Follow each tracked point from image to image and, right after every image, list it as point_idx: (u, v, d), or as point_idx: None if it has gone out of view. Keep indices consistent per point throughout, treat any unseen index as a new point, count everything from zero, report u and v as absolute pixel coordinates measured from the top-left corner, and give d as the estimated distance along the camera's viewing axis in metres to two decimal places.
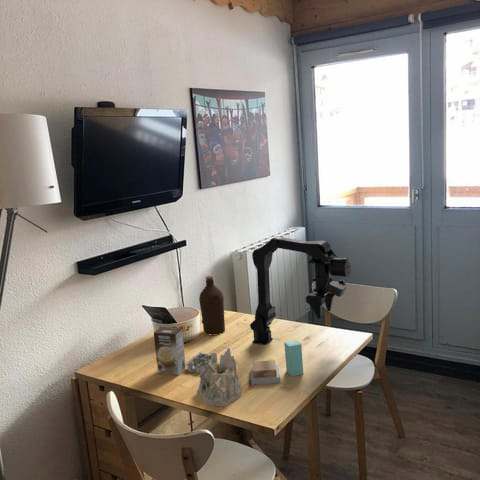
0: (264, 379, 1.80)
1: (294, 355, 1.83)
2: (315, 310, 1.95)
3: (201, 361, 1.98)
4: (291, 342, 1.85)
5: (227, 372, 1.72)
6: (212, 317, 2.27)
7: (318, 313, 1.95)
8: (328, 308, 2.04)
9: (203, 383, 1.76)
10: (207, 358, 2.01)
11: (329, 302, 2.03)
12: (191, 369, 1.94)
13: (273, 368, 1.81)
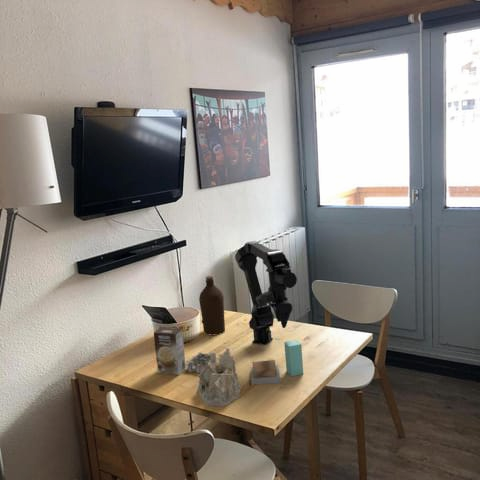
0: (264, 379, 1.80)
1: (294, 355, 1.83)
2: None
3: (201, 361, 1.98)
4: (291, 342, 1.85)
5: (226, 372, 1.72)
6: (212, 317, 2.27)
7: None
8: None
9: (202, 383, 1.76)
10: (207, 358, 2.01)
11: None
12: (191, 369, 1.94)
13: (273, 368, 1.81)
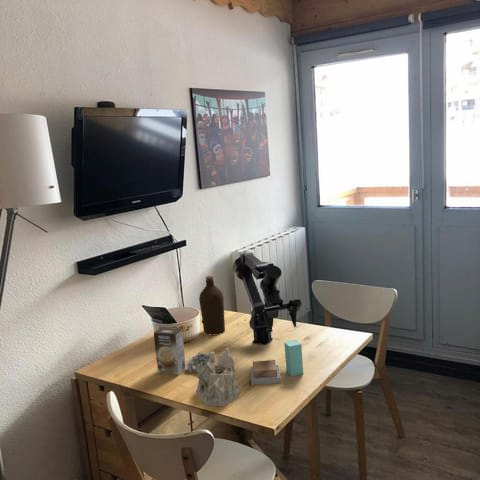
0: (264, 379, 1.80)
1: (294, 355, 1.83)
2: None
3: (201, 361, 1.98)
4: (291, 342, 1.85)
5: (225, 372, 1.72)
6: (212, 317, 2.27)
7: None
8: None
9: (201, 383, 1.76)
10: (206, 358, 2.01)
11: None
12: (191, 369, 1.94)
13: (273, 368, 1.81)
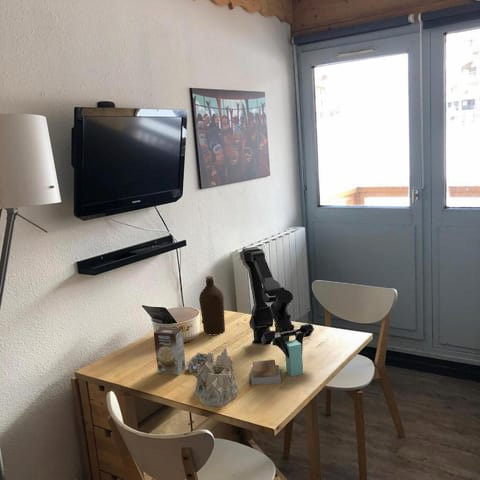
0: (264, 379, 1.80)
1: (294, 355, 1.83)
2: None
3: (201, 361, 1.98)
4: (291, 342, 1.85)
5: (224, 372, 1.72)
6: (212, 317, 2.27)
7: None
8: None
9: (200, 383, 1.76)
10: (206, 358, 2.01)
11: None
12: (192, 369, 1.94)
13: (273, 368, 1.81)
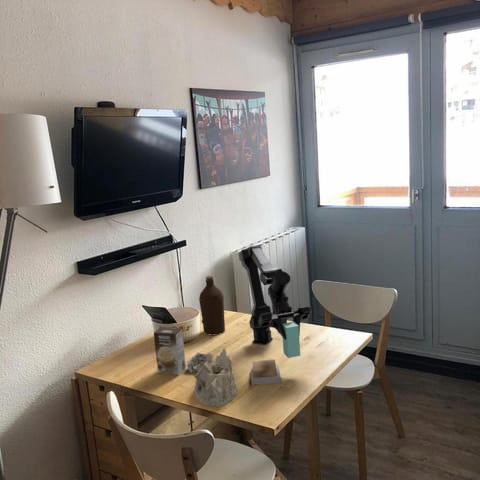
0: (264, 379, 1.80)
1: (291, 337, 1.82)
2: None
3: (200, 361, 1.98)
4: (288, 324, 1.84)
5: (223, 372, 1.72)
6: (212, 317, 2.27)
7: None
8: None
9: (199, 384, 1.76)
10: (205, 358, 2.01)
11: None
12: (192, 369, 1.94)
13: (273, 368, 1.81)
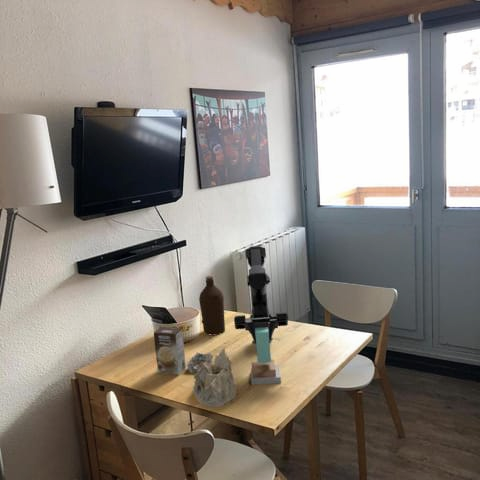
0: (264, 379, 1.80)
1: (261, 342, 1.80)
2: (272, 332, 1.82)
3: (200, 361, 1.98)
4: (261, 329, 1.83)
5: (222, 372, 1.72)
6: (212, 317, 2.27)
7: (271, 336, 1.83)
8: None
9: (198, 384, 1.76)
10: (205, 358, 2.01)
11: None
12: (192, 369, 1.94)
13: (272, 368, 1.81)
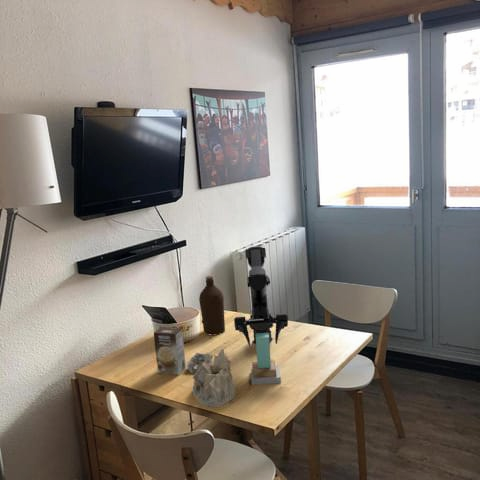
0: (264, 379, 1.80)
1: (261, 347, 1.81)
2: (278, 333, 1.82)
3: (200, 361, 1.98)
4: (261, 334, 1.83)
5: (221, 373, 1.72)
6: (212, 317, 2.27)
7: None
8: (249, 342, 1.82)
9: (197, 384, 1.76)
10: None
11: None
12: (192, 369, 1.94)
13: (273, 368, 1.81)
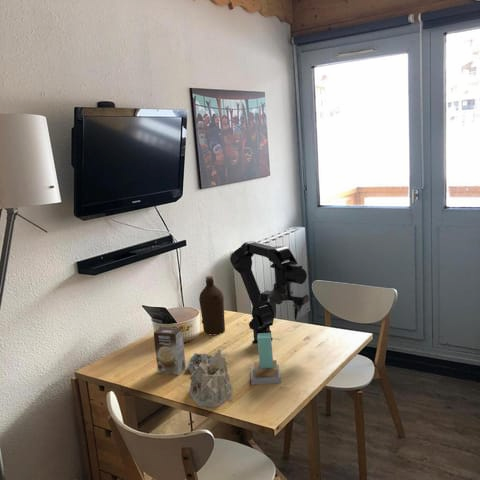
0: (264, 379, 1.80)
1: (263, 348, 1.80)
2: None
3: (200, 361, 1.98)
4: (263, 334, 1.83)
5: (218, 373, 1.71)
6: (212, 317, 2.27)
7: None
8: None
9: (194, 385, 1.76)
10: None
11: None
12: (193, 370, 1.93)
13: (274, 368, 1.81)
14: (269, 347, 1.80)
